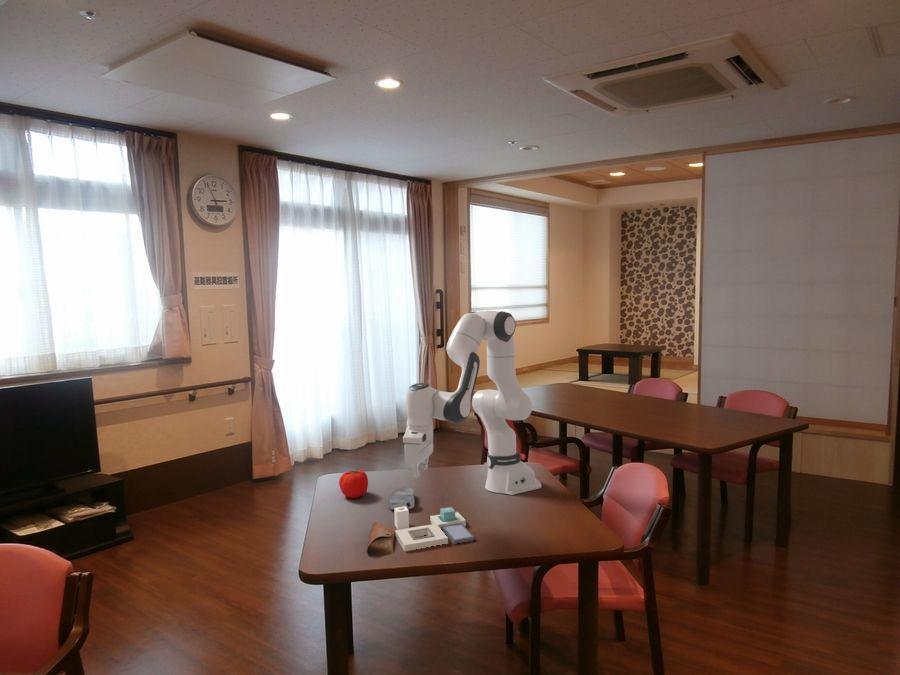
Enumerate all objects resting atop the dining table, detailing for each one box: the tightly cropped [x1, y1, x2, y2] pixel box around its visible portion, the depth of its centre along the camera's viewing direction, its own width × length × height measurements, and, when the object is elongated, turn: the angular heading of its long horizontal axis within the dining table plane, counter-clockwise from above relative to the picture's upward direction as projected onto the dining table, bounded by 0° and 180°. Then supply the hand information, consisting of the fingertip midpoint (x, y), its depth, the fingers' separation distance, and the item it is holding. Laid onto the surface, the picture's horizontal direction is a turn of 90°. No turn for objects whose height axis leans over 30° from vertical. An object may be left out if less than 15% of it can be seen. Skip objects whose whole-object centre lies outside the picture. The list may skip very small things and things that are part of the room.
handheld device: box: [388, 486, 415, 510], centre depth 222 cm, size 10×20×5 cm, turn 0°
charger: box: [393, 506, 410, 530], centre depth 198 cm, size 4×4×6 cm
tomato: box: [338, 467, 369, 499], centre depth 229 cm, size 11×13×10 cm
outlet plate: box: [394, 523, 449, 552], centre depth 187 cm, size 14×12×2 cm
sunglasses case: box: [366, 522, 396, 556], centre depth 186 cm, size 18×7×7 cm
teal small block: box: [439, 506, 456, 522], centre depth 199 cm, size 4×4×5 cm
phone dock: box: [429, 511, 476, 545], centre depth 194 cm, size 10×20×2 cm, turn 19°
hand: (420, 473), depth 197 cm, fingers open, 8 cm apart
